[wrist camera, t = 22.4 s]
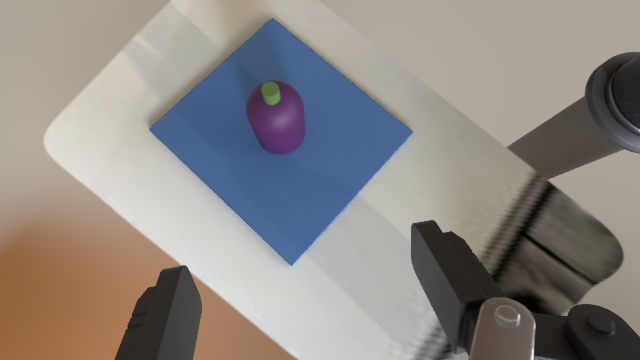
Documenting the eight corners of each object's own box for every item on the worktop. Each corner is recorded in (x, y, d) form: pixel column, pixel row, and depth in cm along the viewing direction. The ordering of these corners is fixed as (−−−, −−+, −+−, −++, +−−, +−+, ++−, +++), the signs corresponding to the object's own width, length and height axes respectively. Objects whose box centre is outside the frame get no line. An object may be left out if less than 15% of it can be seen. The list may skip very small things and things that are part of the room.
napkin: (412, 133, 37) (413, 131, 36) (291, 266, 33) (291, 266, 33) (273, 19, 40) (272, 17, 40) (150, 130, 37) (148, 129, 36)
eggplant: (300, 105, 37) (296, 56, 29) (309, 150, 36) (306, 112, 27) (253, 113, 37) (234, 66, 28) (260, 158, 36) (242, 123, 27)
